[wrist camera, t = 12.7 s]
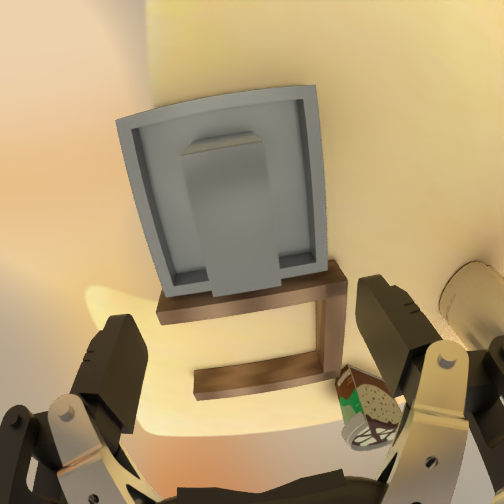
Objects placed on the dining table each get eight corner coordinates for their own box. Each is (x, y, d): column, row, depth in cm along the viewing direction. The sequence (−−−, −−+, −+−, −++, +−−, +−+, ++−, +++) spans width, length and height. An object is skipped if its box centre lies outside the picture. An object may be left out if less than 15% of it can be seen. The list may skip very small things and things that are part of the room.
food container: (307, 387, 37) (324, 450, 28) (340, 361, 35) (365, 425, 26) (360, 403, 41) (379, 454, 32) (389, 381, 39) (413, 432, 30)
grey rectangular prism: (251, 130, 21) (263, 141, 15) (266, 238, 25) (281, 285, 19) (192, 141, 21) (179, 156, 15) (214, 247, 25) (213, 297, 19)
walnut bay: (334, 259, 28) (347, 280, 24) (331, 355, 34) (339, 376, 31) (161, 289, 27) (155, 312, 24) (197, 377, 34) (197, 400, 31)
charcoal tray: (305, 86, 20) (315, 84, 18) (319, 256, 27) (327, 270, 25) (126, 118, 20) (115, 120, 18) (169, 281, 27) (165, 297, 25)
